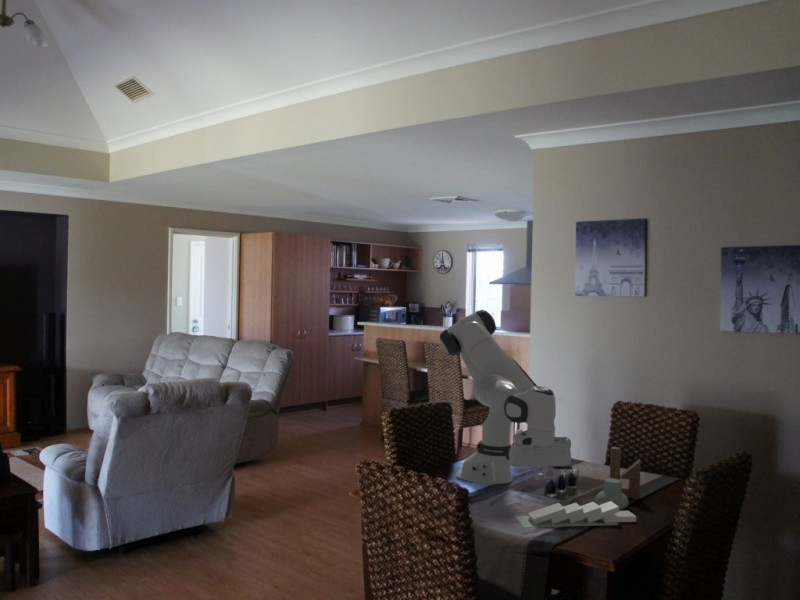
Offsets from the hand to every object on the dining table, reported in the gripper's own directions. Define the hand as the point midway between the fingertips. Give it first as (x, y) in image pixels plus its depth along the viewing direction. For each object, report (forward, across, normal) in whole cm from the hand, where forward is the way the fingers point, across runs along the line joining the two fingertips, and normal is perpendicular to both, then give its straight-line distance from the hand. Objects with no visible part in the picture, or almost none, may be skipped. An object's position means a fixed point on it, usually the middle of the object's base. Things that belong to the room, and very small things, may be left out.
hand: (539, 479), depth 222 cm
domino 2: (+13, -4, 0) cm, 13 cm away
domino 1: (+13, +2, 0) cm, 13 cm away
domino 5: (+13, -22, 0) cm, 25 cm away
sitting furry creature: (+16, -24, -85) cm, 89 cm away
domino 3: (+13, -10, 0) cm, 16 cm away
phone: (+16, -36, -69) cm, 80 cm away
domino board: (+15, -9, 0) cm, 18 cm away
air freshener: (+15, -32, -12) cm, 38 cm away
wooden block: (+15, -43, -24) cm, 52 cm away
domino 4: (+13, -16, 0) cm, 21 cm away
